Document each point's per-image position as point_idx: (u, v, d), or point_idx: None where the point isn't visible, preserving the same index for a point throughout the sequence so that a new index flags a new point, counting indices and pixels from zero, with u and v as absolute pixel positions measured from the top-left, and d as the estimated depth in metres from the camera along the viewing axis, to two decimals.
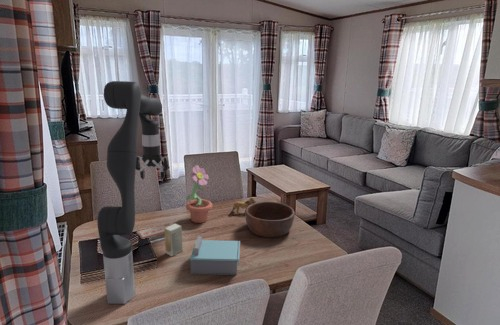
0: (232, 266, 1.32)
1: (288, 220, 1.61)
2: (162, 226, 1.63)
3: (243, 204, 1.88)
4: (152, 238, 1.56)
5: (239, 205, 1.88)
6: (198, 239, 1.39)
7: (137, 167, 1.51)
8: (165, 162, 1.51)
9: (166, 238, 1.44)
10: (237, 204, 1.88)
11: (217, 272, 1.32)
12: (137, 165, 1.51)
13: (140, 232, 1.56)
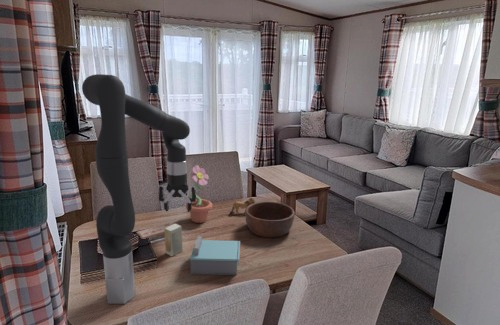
0: (232, 266, 1.32)
1: (288, 220, 1.61)
2: (162, 226, 1.63)
3: (242, 204, 1.88)
4: (152, 238, 1.56)
5: (238, 205, 1.88)
6: (198, 239, 1.39)
7: (160, 198, 1.31)
8: (193, 192, 1.31)
9: (166, 238, 1.44)
10: (236, 204, 1.88)
11: (217, 272, 1.32)
12: (161, 196, 1.31)
13: (140, 232, 1.56)
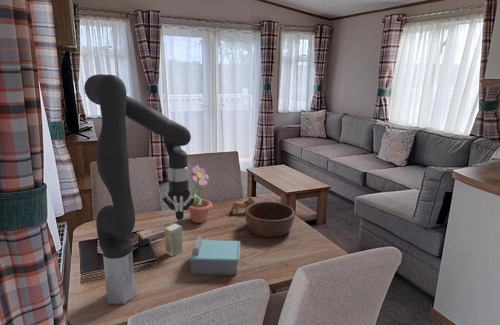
0: (232, 266, 1.32)
1: (288, 220, 1.61)
2: (162, 226, 1.63)
3: (242, 204, 1.88)
4: (153, 238, 1.56)
5: (238, 205, 1.88)
6: (198, 239, 1.39)
7: (172, 207, 1.31)
8: (190, 203, 1.31)
9: (166, 238, 1.44)
10: (236, 204, 1.88)
11: (217, 272, 1.32)
12: (170, 205, 1.31)
13: (140, 233, 1.56)
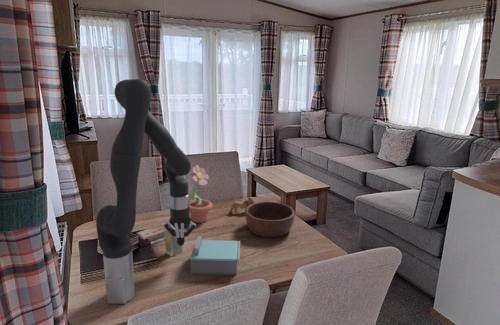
0: (232, 266, 1.32)
1: (288, 220, 1.61)
2: (162, 226, 1.63)
3: (241, 204, 1.88)
4: (153, 238, 1.55)
5: (237, 205, 1.88)
6: (198, 239, 1.39)
7: (174, 233, 1.34)
8: (191, 229, 1.34)
9: (166, 238, 1.44)
10: (235, 204, 1.88)
11: (217, 272, 1.32)
12: (171, 231, 1.34)
13: (141, 233, 1.55)
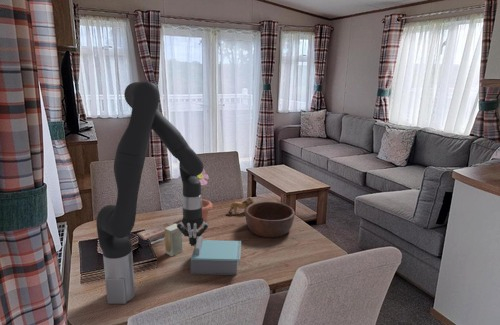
0: (232, 266, 1.32)
1: (288, 220, 1.61)
2: (161, 226, 1.63)
3: (241, 204, 1.88)
4: (154, 239, 1.55)
5: (237, 205, 1.88)
6: (199, 239, 1.39)
7: (186, 233, 1.35)
8: (204, 229, 1.34)
9: (166, 238, 1.44)
10: (235, 204, 1.88)
11: (217, 272, 1.32)
12: (183, 231, 1.34)
13: (141, 233, 1.55)
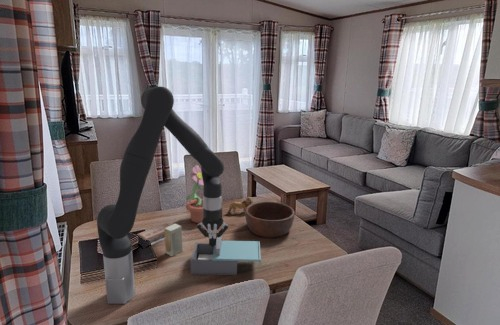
0: (232, 266, 1.32)
1: (288, 220, 1.61)
2: (161, 226, 1.63)
3: (240, 204, 1.88)
4: (155, 239, 1.55)
5: (236, 205, 1.88)
6: (218, 239, 1.39)
7: (206, 234, 1.35)
8: (224, 230, 1.34)
9: (166, 238, 1.44)
10: (234, 204, 1.88)
11: (217, 272, 1.32)
12: (203, 232, 1.34)
13: (142, 234, 1.54)
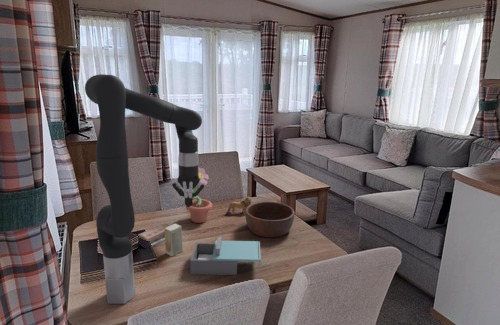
0: (232, 266, 1.32)
1: (288, 220, 1.61)
2: (161, 226, 1.63)
3: (239, 204, 1.88)
4: (156, 239, 1.55)
5: (235, 205, 1.88)
6: (218, 239, 1.39)
7: (181, 193, 1.29)
8: (200, 189, 1.29)
9: (166, 238, 1.44)
10: (233, 204, 1.88)
11: (217, 272, 1.32)
12: (179, 191, 1.29)
13: (142, 235, 1.54)
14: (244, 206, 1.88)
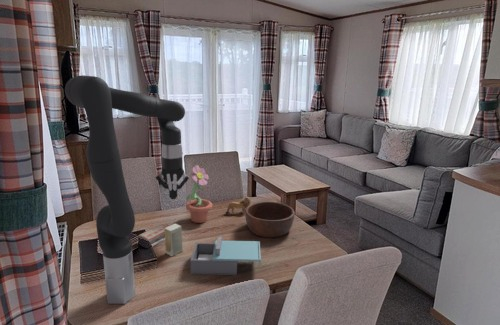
0: (232, 266, 1.32)
1: (288, 220, 1.61)
2: (160, 226, 1.63)
3: (238, 204, 1.88)
4: (156, 239, 1.55)
5: (234, 205, 1.88)
6: (218, 239, 1.39)
7: (166, 185, 1.28)
8: (184, 181, 1.28)
9: (166, 238, 1.44)
10: (232, 204, 1.88)
11: (217, 272, 1.32)
12: (163, 183, 1.28)
13: (143, 235, 1.53)
14: (243, 206, 1.88)
